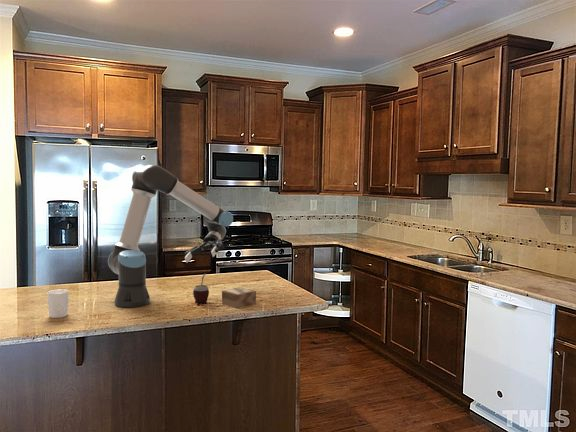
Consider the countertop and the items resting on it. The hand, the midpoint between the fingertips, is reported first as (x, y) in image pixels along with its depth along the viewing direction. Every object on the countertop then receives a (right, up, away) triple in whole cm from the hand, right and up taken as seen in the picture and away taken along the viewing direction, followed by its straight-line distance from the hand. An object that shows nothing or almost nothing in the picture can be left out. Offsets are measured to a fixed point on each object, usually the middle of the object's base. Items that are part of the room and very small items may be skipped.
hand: (199, 257), depth 218 cm
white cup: (-52, -21, -29) cm, 63 cm away
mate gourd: (+2, -21, -7) cm, 22 cm away
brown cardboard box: (+19, -21, -6) cm, 29 cm away
